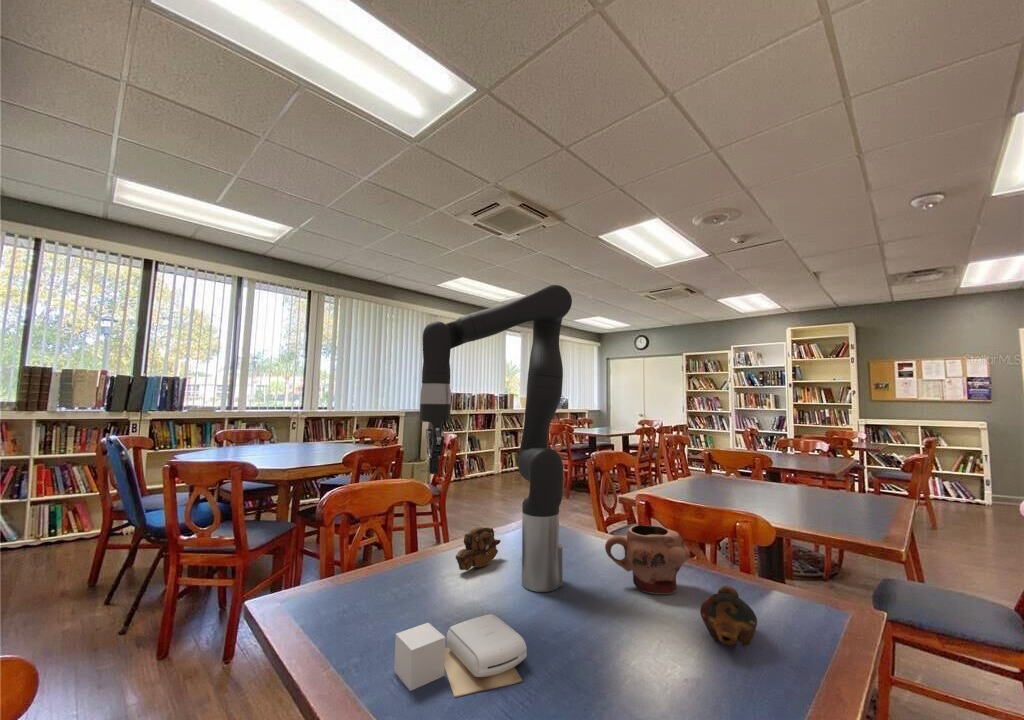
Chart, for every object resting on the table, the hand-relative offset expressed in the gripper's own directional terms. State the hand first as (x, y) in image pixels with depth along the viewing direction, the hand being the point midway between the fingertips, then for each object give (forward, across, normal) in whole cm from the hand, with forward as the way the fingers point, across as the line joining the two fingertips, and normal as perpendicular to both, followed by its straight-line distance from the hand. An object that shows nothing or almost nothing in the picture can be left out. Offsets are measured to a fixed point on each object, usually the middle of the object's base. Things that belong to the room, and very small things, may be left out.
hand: (433, 473), depth 103 cm
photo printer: (+25, -25, -3) cm, 35 cm away
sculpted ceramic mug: (+27, -16, -50) cm, 59 cm away
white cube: (+27, -31, +7) cm, 42 cm away
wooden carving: (+27, +10, -15) cm, 33 cm away
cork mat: (+27, -32, -3) cm, 42 cm away
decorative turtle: (+27, -40, -50) cm, 70 cm away
